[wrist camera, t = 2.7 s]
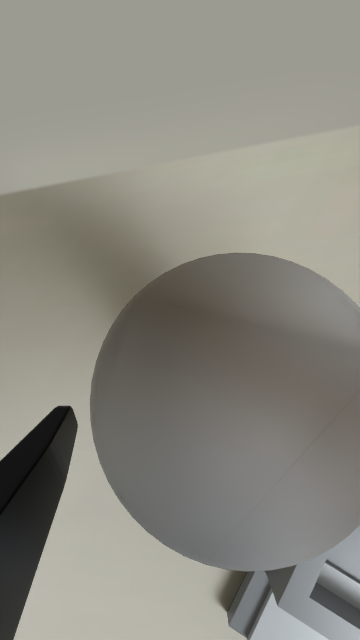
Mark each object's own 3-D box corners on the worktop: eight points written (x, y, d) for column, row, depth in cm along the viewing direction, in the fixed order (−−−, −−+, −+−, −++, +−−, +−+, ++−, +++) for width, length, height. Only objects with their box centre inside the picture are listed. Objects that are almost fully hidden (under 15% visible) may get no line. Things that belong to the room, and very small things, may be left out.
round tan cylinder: (227, 441, 17) (316, 644, 5) (148, 395, 18) (32, 459, 5) (268, 361, 18) (452, 340, 5) (191, 319, 19) (182, 206, 6)
